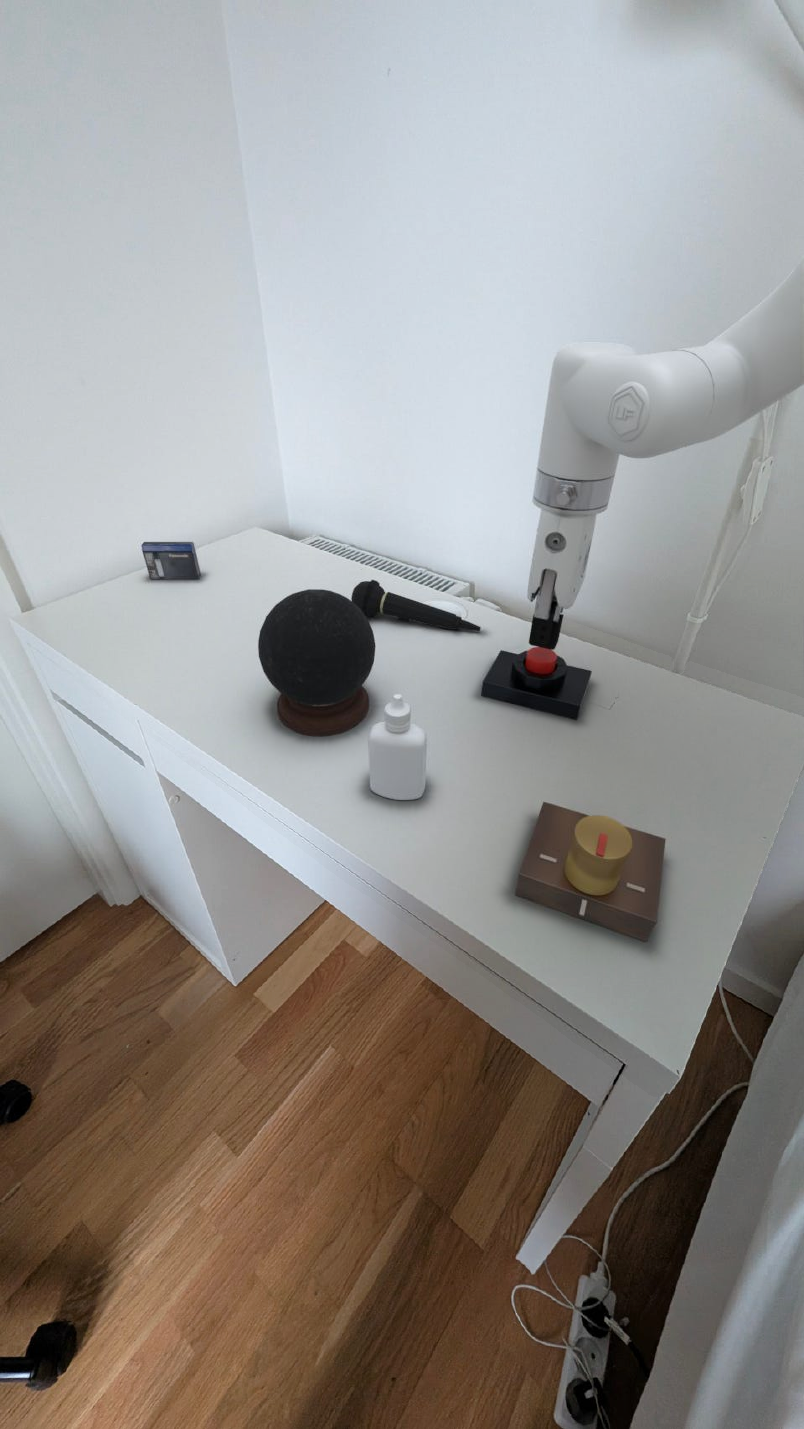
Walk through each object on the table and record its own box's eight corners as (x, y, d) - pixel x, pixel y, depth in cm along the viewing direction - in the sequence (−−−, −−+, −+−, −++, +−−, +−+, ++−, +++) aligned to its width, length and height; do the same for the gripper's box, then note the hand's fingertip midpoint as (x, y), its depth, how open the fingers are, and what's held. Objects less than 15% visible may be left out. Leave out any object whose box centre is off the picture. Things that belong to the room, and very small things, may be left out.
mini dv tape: (150, 579, 98) (140, 545, 94) (153, 575, 99) (143, 541, 96) (198, 579, 98) (190, 545, 95) (201, 575, 99) (193, 541, 96)
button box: (588, 684, 75) (595, 658, 72) (576, 720, 69) (583, 693, 67) (498, 663, 79) (502, 638, 76) (480, 695, 73) (483, 669, 70)
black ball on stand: (312, 665, 78) (300, 560, 69) (397, 694, 73) (396, 585, 64) (246, 718, 69) (222, 606, 60) (337, 756, 64) (326, 639, 55)
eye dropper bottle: (391, 765, 63) (390, 674, 55) (431, 789, 60) (436, 697, 53) (363, 787, 60) (358, 695, 53) (404, 813, 57) (405, 720, 50)
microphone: (477, 643, 88) (355, 609, 91) (487, 607, 86) (362, 573, 89) (472, 652, 83) (343, 615, 86) (483, 613, 81) (350, 577, 84)
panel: (656, 859, 53) (666, 837, 51) (644, 962, 46) (655, 940, 44) (538, 822, 57) (543, 799, 55) (508, 911, 49) (513, 889, 47)
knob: (569, 845, 51) (580, 805, 48) (621, 861, 49) (636, 822, 46) (559, 884, 48) (570, 845, 44) (614, 903, 46) (630, 864, 43)
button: (557, 662, 72) (559, 650, 71) (551, 677, 70) (553, 665, 69) (529, 656, 73) (531, 644, 72) (521, 670, 71) (523, 658, 70)
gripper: (598, 519, 52) (561, 685, 63) (620, 473, 62) (585, 622, 74) (516, 506, 54) (495, 669, 66) (551, 464, 65) (527, 610, 76)
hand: (543, 643), depth 70 cm, fingers closed
